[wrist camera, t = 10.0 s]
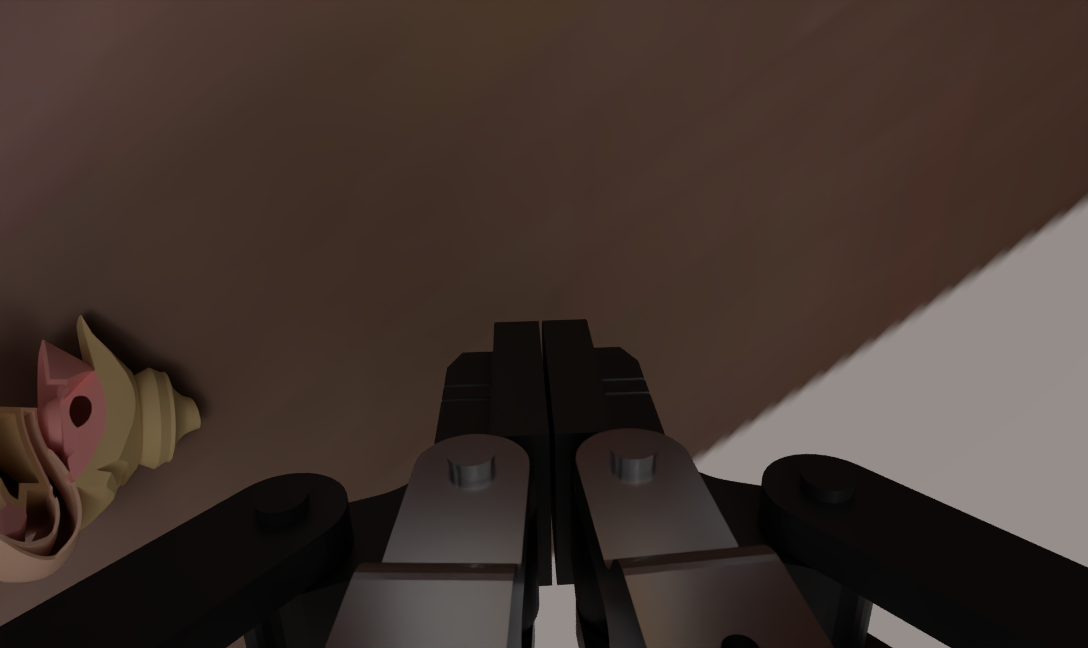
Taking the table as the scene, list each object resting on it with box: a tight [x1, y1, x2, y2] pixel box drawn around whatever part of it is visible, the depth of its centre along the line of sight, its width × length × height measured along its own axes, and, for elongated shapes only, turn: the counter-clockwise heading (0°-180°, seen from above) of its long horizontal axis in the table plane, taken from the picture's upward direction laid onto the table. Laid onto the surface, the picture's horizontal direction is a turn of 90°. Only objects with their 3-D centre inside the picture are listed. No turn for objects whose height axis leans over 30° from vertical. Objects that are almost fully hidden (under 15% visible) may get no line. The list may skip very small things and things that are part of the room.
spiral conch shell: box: [0, 315, 201, 582], centre depth 29 cm, size 9×10×10 cm
